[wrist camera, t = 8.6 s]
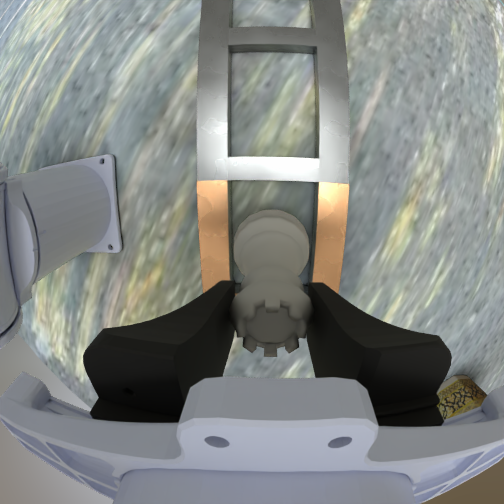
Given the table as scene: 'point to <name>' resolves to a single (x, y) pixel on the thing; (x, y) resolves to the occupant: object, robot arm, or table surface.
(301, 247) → the rook chess piece
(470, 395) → the ceramic cup
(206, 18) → the hole rail
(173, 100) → the table surface
